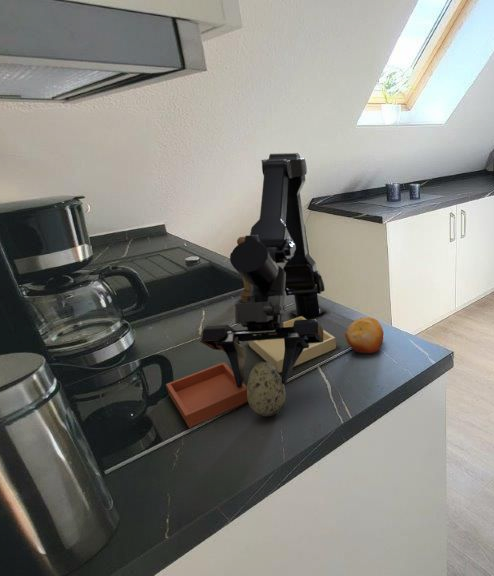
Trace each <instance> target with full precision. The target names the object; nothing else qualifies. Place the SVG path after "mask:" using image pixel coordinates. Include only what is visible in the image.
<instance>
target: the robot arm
mask: <svg viewBox="0 0 494 576" xmlns="http://www.w3.org/2000/svg"><path fill="white" fill-rule="evenodd" d="M260 161H261V171H262V175H263V181H262V193H261V203H260V211H259V219H258V220H257V221H256V222H255V223H254V224H253V225H252V226H251V228H250V233H249V234H248V235H247V234H246V235H245V236H244V237H245V241H244V242H242V243H240V244H239V245H238V244H237V245H235V247H234V248H233V249H232V252H230V255H229V259H230V260H229V261H230V264H231V265H232V267H233V268H234V270H236V272H237V273H238V274H239V275H240V276H241V277H242V279H243V278H244V279H245V281H246V282H248V283H249V284H251V289H250V297H247V300H246V303H244V302H241V303H240V302H237V303H234V318H235V319H234V320H235V321H234V322H235V325H240V326H242V328H246V329H240V330H237V329H234V328H233V327H232V326H230V325H229V324H216V325H206V326H205V327H204V328H203V329H202V331H200V336H199V337H200V338H199V342H200V343H201V344H203V345H204V346H206V347H208V348H209V349H211V350H215V351H223V352H224V353H225V354H226V356H227V358H228V360H229V363H230V367H231V370H232V371H233V374H234V377H235V381H236V385H237V387H238V388H242V384H243V383H244V379H245V368H246V367H245V366H246V355H247V354H246V353H247V350H246V349H245V348H244V347H242V346H241V345H242V344H243V343H242V342H248V341H256V340H270V339H284V344H285V352H284V360H283V367H282V372H281V379H282V384H284V385H286V384H287V382H288V380H289V378H290V375H291V373H292V371H293V369H294V367H295V366H294V365H295V363H296V361H297V359H298V357H299V356H300V354H301V353H302V351H303V349H305V348H309V344H310V343H321V342H323V330H324V329H323V326H322V325H321V323H320V322H319V320H317V319H316V318H314V317H318V316H320V315H323V314H326V310H324V309H323V308H321V307H320V306H319V305H320V303H319V296H318V295H321V294H322V292H325V282H324V279H323V277H322V275H321V273H320V270H317V263H316V261H315V260H314V258H312V256H311V255H310V254H309V253H308V245H307V237H306V230H305V222H304V215H303V214H304V213H303V207H302V206H303V205H302V200H301V191H302V189H303V187H304V185H305V183H306V175H307V174H308V170H307V169H308V168H307V161H306V158H304V157H301V155H300V153H299V152H290V153H289V152H287V153H285V152H283V153H270V154H269V156H268V158H265V159H261V160H260ZM278 264H284V266H283V267H282V266H280V265H278ZM285 296H287V297H288V296H293V298H294V304H295V305H294V306H295V309H294V310H291V313H290V314H292V315H293V316H295V318H297V317H300V316H302V317H304V318H305V319H306V320H295V322H294V326H293V327H283V322H285V321H284V320H285V319H284V318H285V312H286V305H285V299H286V297H285Z"/></svg>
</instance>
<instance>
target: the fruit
mask: <svg viewBox="0 0 494 576" xmlns="http://www.w3.org/2000/svg"><path fill="white" fill-rule="evenodd" d="M344 336H345V340H346V342H347V344H348V345H349V347H350V348H351V350H353V351H354V352H355V353H358V354H359V353H360V354H376V353H377V352H378V351H380V349H381V348H382V345H383V342H384V330H383V327H382V325H381V323H380V322H379V321H378V319H376V318H375V317H371V316H370V317H369V316H367V317H360V318H358V319H355V320H354V321H353V322H351V323H350V324H349V325H348V327H347V329H346V332H345V334H344Z"/></svg>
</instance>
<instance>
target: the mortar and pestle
mask: <svg viewBox="0 0 494 576" xmlns="http://www.w3.org/2000/svg"><path fill="white" fill-rule="evenodd" d="M244 241H245V236H239V237H238V238H237V240H236V243H237V245H239V244H240V243H242V242H244ZM242 281H243V287H244V288H243V289H242V290H241V292H240V299H241V303H246V300H247V297H250V289H251V284H249V283H248V282H246V281H245V279H244V278H243V277H242Z"/></svg>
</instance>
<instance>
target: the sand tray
mask: <svg viewBox="0 0 494 576" xmlns="http://www.w3.org/2000/svg"><path fill="white" fill-rule="evenodd" d="M295 320H306V319H305V318H304V317H302V316H300V317H295V318H292V319H289V320H285V321H283V327H293V326H294V322H295ZM336 341H337V340H336V337H335V336H333V335H332V334H330V333H329V332H327V331H325V330H324V329H323V342H321V343H310V344H309V348H305V349H303V351H302V353H301V354H300V356H299V357H298V359H297V361H296V363H295V365H294V367H296V366H299V365H301V364H303V363H305V362H308V361H310V360H313V359H314V358H315V359H316V358H317V357H319V356H323V355H325V354H327V353H329V352H331V351H334V350H335V349H337V342H336ZM247 343H248V346H249V347H250V348H251V349H252V351H254V352H255V353H256V354H258V355H259V357H261V358H262V359H263V360H264V361H265V362H267V363H269V364H270V365H271V366H273V367H274V368H275V370H276V371H277V372H278V374H280V373H282V367H283V360H284V352H285V344H284V339H270V340H256V341H247Z"/></svg>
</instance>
